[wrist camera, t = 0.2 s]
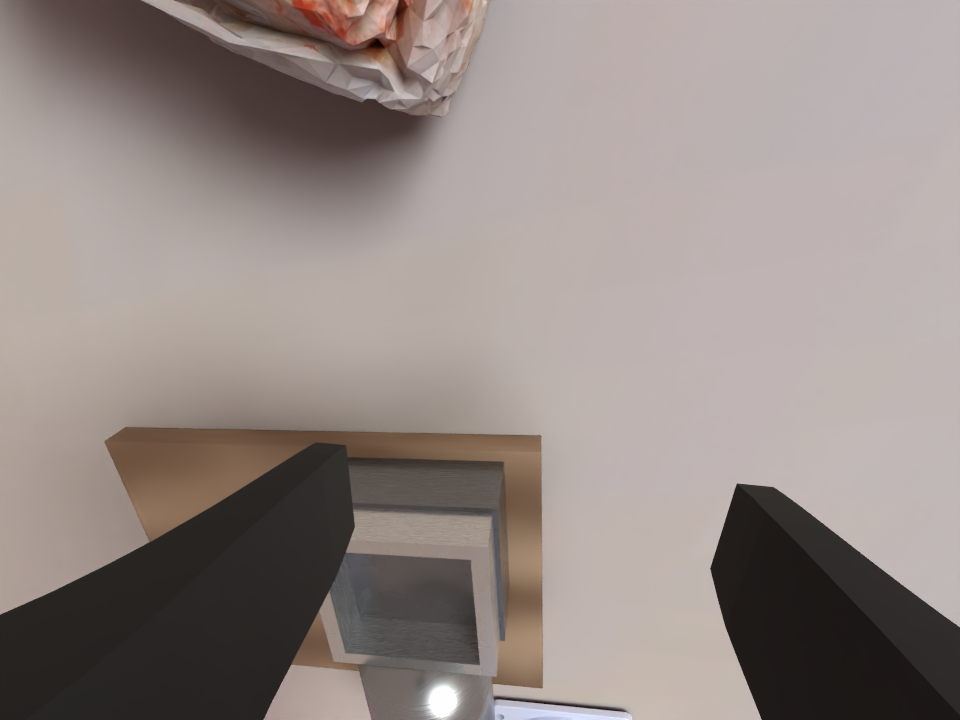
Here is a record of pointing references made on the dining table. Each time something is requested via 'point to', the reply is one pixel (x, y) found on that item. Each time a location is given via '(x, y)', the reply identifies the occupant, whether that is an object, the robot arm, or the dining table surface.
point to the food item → (350, 43)
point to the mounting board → (251, 453)
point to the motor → (423, 587)
